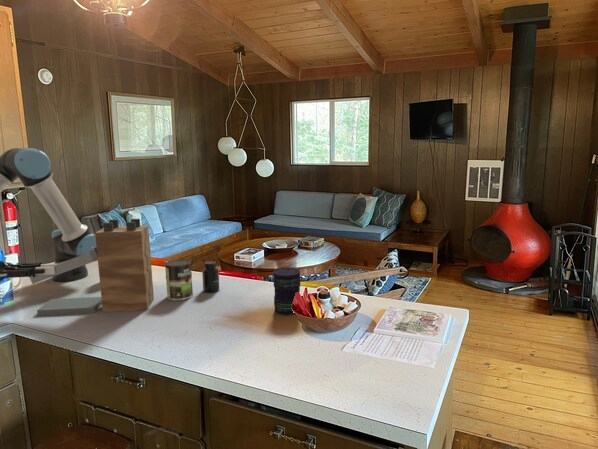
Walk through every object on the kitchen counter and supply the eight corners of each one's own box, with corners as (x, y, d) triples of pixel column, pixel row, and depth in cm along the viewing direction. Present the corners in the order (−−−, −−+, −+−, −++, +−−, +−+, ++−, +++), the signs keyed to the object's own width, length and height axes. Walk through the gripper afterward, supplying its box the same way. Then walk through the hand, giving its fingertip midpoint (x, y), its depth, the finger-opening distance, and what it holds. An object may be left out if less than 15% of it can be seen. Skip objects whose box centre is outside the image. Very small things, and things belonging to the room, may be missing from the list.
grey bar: (38, 280, 174) (32, 269, 173) (103, 256, 175) (98, 245, 174) (31, 284, 169) (26, 273, 168) (99, 259, 170) (94, 248, 169)
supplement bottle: (217, 292, 190) (216, 264, 188) (201, 293, 190) (199, 264, 188) (221, 287, 197) (219, 260, 195) (205, 287, 197) (203, 260, 195)
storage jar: (297, 316, 163) (297, 275, 161) (271, 314, 165) (270, 274, 163) (303, 306, 173) (302, 268, 170) (277, 305, 175) (276, 267, 172)
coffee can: (198, 295, 188) (196, 261, 185) (178, 302, 179) (175, 267, 177) (182, 290, 194) (180, 258, 191) (161, 297, 186) (159, 263, 183)
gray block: (51, 304, 180) (51, 299, 180) (104, 301, 182) (104, 296, 181) (37, 315, 168) (37, 310, 168) (94, 312, 170) (93, 307, 170)
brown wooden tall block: (112, 301, 182) (104, 219, 176) (153, 299, 184) (147, 217, 178) (102, 312, 170) (94, 224, 164) (147, 309, 172) (140, 223, 166)
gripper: (3, 274, 178) (66, 272, 180) (-22, 287, 162) (48, 285, 164) (1, 255, 177) (64, 253, 179) (-25, 267, 160) (46, 264, 163)
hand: (56, 268), depth 171 cm, fingers closed on grey bar, 3 cm apart
